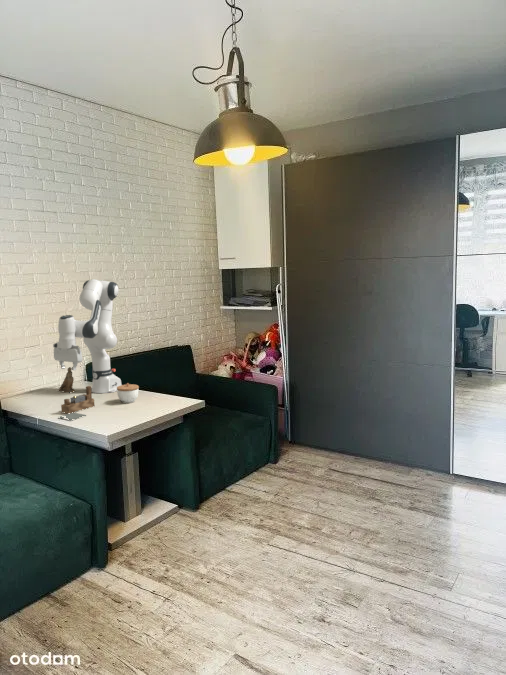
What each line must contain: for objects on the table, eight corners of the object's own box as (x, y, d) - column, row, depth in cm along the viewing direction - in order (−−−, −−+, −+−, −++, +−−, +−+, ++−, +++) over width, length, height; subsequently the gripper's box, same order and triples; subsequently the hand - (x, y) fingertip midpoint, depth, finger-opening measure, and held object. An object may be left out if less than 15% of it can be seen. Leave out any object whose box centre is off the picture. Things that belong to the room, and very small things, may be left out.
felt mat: (73, 413, 272) (73, 412, 272) (86, 416, 267) (86, 414, 267) (58, 418, 264) (58, 417, 264) (71, 420, 259) (70, 419, 259)
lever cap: (80, 399, 284) (80, 393, 283) (85, 400, 282) (84, 394, 281) (70, 402, 278) (70, 396, 277) (75, 403, 276) (75, 397, 275)
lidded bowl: (123, 398, 304) (122, 380, 302) (142, 399, 301) (141, 381, 299) (113, 403, 291) (112, 385, 290) (133, 404, 289) (132, 386, 287)
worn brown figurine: (75, 395, 322) (78, 369, 318) (68, 397, 318) (71, 370, 314) (64, 389, 328) (66, 363, 324) (57, 391, 324) (59, 365, 320)
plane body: (87, 404, 289) (86, 385, 288) (94, 406, 286) (93, 386, 285) (61, 412, 274) (60, 392, 272) (69, 414, 271) (67, 393, 269)
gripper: (84, 345, 271) (85, 370, 273) (60, 343, 282) (61, 367, 284) (75, 346, 266) (76, 371, 267) (51, 344, 277) (52, 368, 278)
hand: (68, 369), depth 276 cm, fingers open, 8 cm apart
